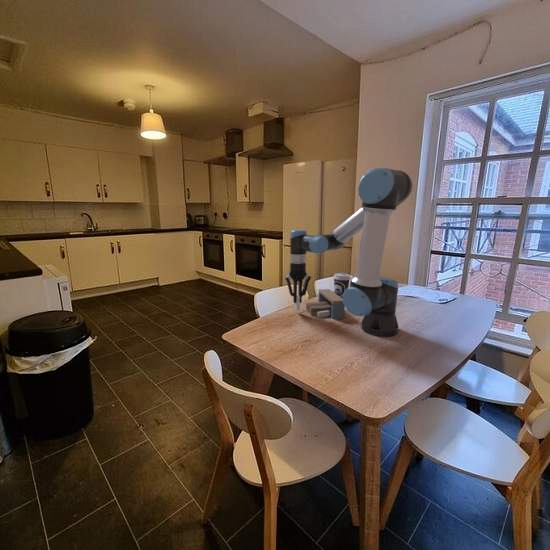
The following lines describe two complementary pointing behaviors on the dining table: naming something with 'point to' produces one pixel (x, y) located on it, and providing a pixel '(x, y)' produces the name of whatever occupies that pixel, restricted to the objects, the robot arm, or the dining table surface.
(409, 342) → the dining table surface
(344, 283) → the coffee cup
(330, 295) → the bridge shelf
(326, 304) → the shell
